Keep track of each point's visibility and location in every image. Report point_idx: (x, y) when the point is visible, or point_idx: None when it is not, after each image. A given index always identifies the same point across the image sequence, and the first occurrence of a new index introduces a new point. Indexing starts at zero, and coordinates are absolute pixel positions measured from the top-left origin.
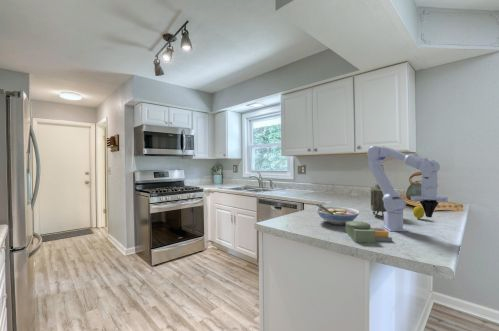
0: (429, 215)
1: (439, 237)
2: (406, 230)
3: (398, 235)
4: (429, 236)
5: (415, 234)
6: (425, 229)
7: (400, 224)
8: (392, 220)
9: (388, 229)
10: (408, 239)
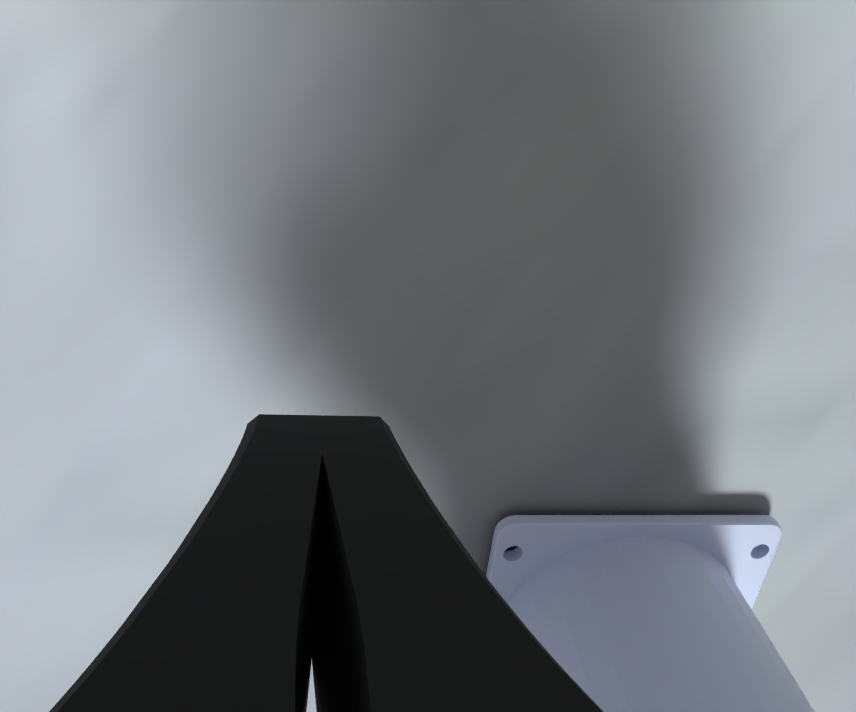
0: (362, 452)
1: (49, 224)
2: (500, 537)
3: (815, 301)
4: (235, 279)
5: (440, 385)
6: (47, 674)
7: (637, 624)
8: (801, 700)
9: (770, 562)
10: (837, 50)
